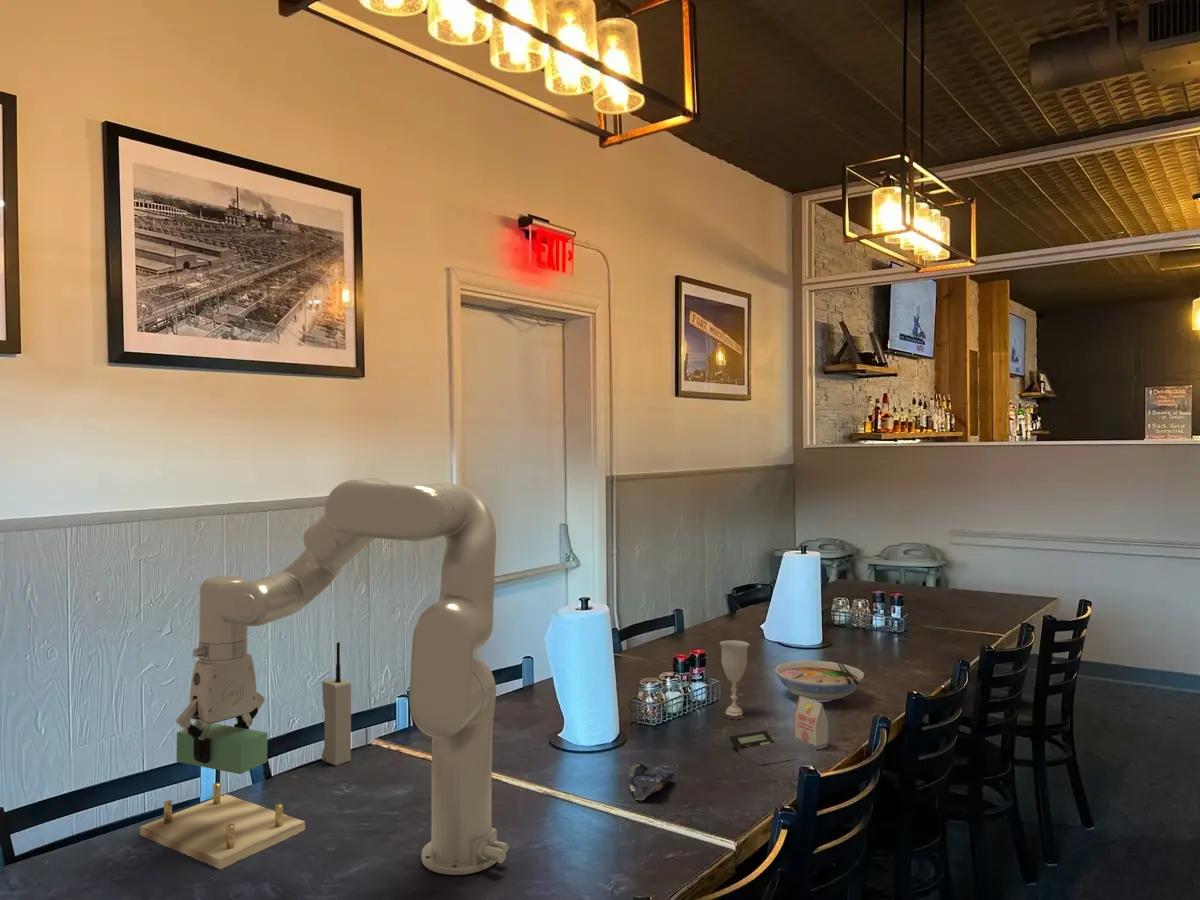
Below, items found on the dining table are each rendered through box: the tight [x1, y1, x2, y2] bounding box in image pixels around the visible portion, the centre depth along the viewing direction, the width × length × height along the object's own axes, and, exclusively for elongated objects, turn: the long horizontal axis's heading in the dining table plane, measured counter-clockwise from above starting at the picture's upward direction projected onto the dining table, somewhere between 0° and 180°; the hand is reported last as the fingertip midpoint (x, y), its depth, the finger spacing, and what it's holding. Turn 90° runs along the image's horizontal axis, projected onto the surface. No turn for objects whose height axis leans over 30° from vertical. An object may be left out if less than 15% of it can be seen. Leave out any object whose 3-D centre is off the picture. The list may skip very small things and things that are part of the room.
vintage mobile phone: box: [321, 642, 352, 767], centre depth 178 cm, size 4×5×25 cm
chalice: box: [719, 639, 750, 716], centre depth 208 cm, size 7×7×18 cm
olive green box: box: [176, 723, 268, 775], centre depth 144 cm, size 14×6×5 cm, turn 69°
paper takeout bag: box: [793, 696, 829, 746], centre depth 189 cm, size 4×7×10 cm, turn 32°
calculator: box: [729, 730, 775, 750], centre depth 183 cm, size 9×12×3 cm
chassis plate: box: [139, 782, 306, 870], centre depth 144 cm, size 22×16×5 cm
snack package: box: [627, 761, 675, 801], centre depth 164 cm, size 12×6×12 cm
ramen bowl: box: [774, 659, 865, 701], centre depth 223 cm, size 25×23×8 cm
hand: (221, 754), depth 144 cm, fingers closed on olive green box, 6 cm apart
